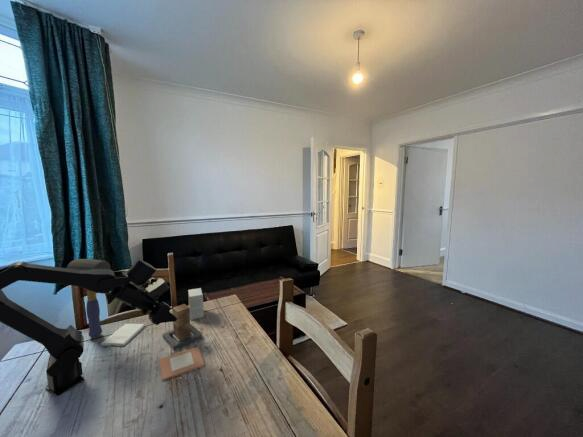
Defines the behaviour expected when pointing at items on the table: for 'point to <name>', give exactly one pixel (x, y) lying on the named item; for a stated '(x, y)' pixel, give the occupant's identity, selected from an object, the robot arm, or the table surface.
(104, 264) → the rubber mallet
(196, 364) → the pad
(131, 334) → the external hard drive
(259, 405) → the table surface
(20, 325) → the robot arm
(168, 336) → the frame
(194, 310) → the small box
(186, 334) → the walnut post
